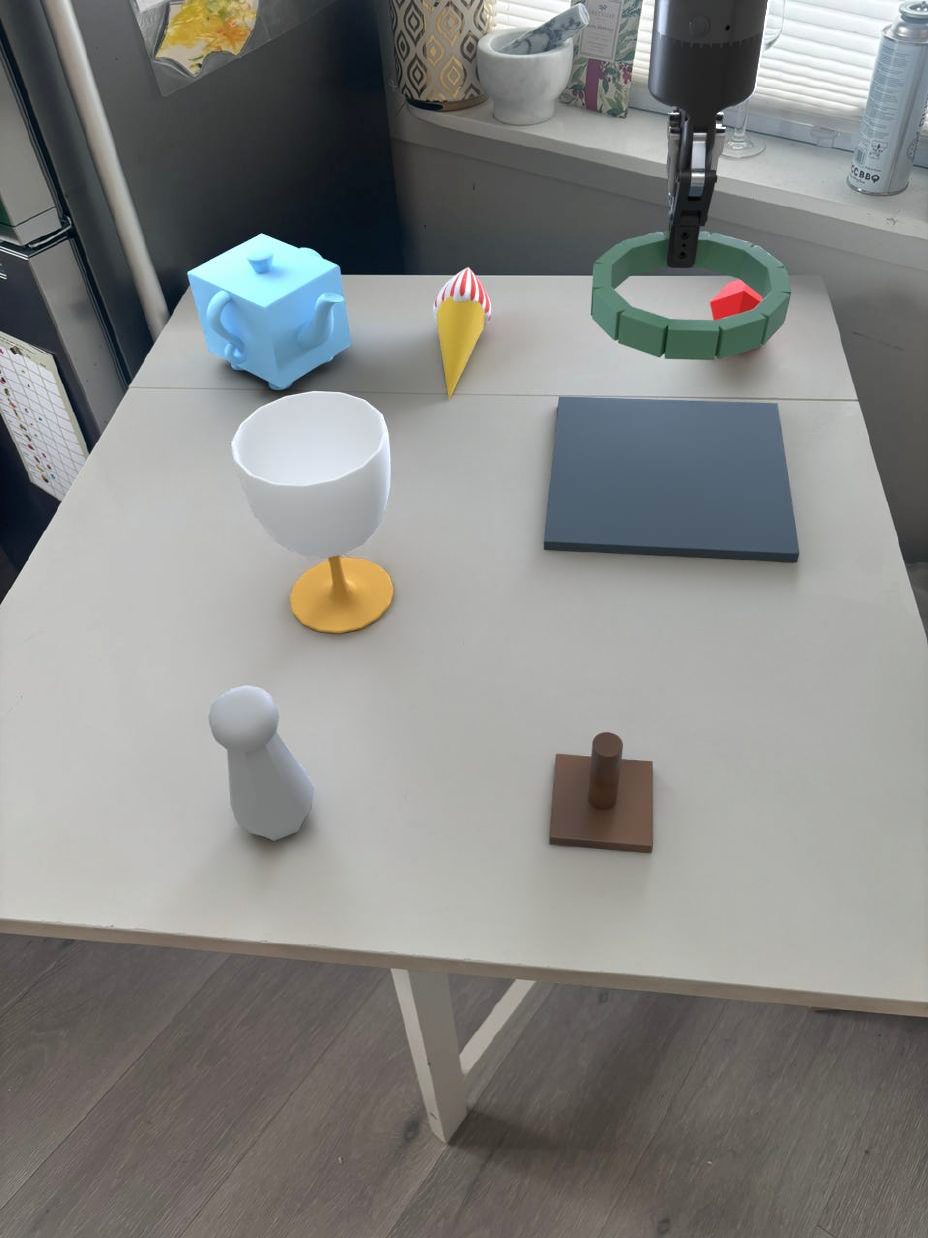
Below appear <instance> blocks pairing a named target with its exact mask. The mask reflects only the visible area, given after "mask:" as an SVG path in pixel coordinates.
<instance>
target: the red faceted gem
mask: <svg viewBox="0 0 928 1238" xmlns="http://www.w3.org/2000/svg"><path fill="white" fill-rule="evenodd" d="M761 301H762V297H761V296H760V295H759V294H757V293H756V292H755V291H754V290H752V289H751V288H750V287H749V286H747V285H746V284H745V283H744V282H742V281H741V280H740V279H739V278H738V279H737V280H733V281H730V282H728V283H727V284H726V285H724V287H723V288H721V290H720V291H719V292H718V293H717V294H716V295H715V296H714V297H713V298H712V299H711V300H710V301H709V305H710V310H711V313H712V320H719V319H722V318H726V317H729V316H733V315H736V314H739V313H743V312H746V311H750V310H753V309H754V308H755V307H756V306H757V305H758V304H759V303H760V302H761Z"/></svg>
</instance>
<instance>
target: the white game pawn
mask: <svg viewBox="0 0 928 1238" xmlns="http://www.w3.org/2000/svg"><path fill="white" fill-rule="evenodd" d="M279 721H280V714H279V709H278V707H277V705H276V702H275V700H274V698H273V697H272V695H271V694H270V693H268V691H266V690H265V689H263V688H262V687H259V686H253V685H241V686H235V687H234V686H233V687H232V688H229V689H228V690H226V691H225V692H223V693H221V694H220V695H218V697H217V698H216V699H215V700H214V701H213V703H212V704H211V705H210V709H209V714H208V724H209V727H210V731H211V733H212V736H213V738H214V740H215V742H216V743H218V744H219V745H221V746H222V747H223V748H224V749H225V750H226V753H227V771H228V785H229V789H228V790H229V803H230V807H231V812H232V814H233V818H234V820H235V821H236V822H237V823H238V825H240V826H241V827H242V828H244V829H245V830H246V831H247V832H248V833H249V834H253V835H257V836H261V837H264V838H267V839H269V840H271V841H273V842H276V841H278V840H281V839H283V838H285V837H288V836H290V835H293V834H296V833H298V832H299V831H300V829H301V826H302V824H303V822H304V820H305V819H306V817H307V816H308V814H309V813H310V812H311V810H312V807H313V801H314V794H315V787H314V785H313V783H312V781H311V778H310V776H309V774H308V772H307V771H306V770H305V768H304V767H303V766H302V764H301V763H300V762H299V761H298V759H297V757H296V756H295V755H294V754H293V752H292V750H291V749H290V748H289V747H288V745H287V744H286V742H285V741H284V739H282V737H281V735H280V734H279V733H278V731H277V730H278V727H279Z"/></svg>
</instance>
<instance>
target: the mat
mask: <svg viewBox="0 0 928 1238" xmlns="http://www.w3.org/2000/svg"><path fill="white" fill-rule="evenodd" d="M779 409H780V408H779V404H778V402H776V403H775V402H749V401H719V400H718V401H717V400H716V401H715V400H683V399H659V398H658V399H657V398H656V399H654V398H621V397H590V396H563V395H562V396H558V401H557V412H556V420H555V421H556V422H555V429H554V430H555V431H554V432H555V433H554V441H553V451H552V459H551V469H550V478H549V488H548V498H547V505H546V506H547V507H546V517H545V525H544V536H543V550H547V551H570V552H587V553H588V552H589V553H591V552H592V553H608V554H630V555H647V556H648V555H650V556H668V557H669V556H670V557H690V558H708V559H709V558H710V559H727V560H729V559H730V560H748V561H768V562H769V561H771V562H786V563H787V562H788V563H798V560H799V557H800V549H799V543H798V542H799V541H798V535H797V528H796V521H795V513H794V507H793V499H792V493H791V486H790V480H789V474H788V473H789V472H788V466H787V459H786V458H787V457H786V451H785V445H784V444H785V443H784V438H783V429H782V424H781V417H780V410H779Z"/></svg>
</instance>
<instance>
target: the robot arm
mask: <svg viewBox="0 0 928 1238" xmlns="http://www.w3.org/2000/svg"><path fill="white" fill-rule="evenodd" d="M770 1H771V0H654V7H653V18H652V31H651V42H650V53H649V54H650V55H649V66H648V77H647V89H648V93H649V94H650V95H651V96H652V98H653V99H654V100H656V101H657V102H659V103H661V104H663V105H665V106H667V107H671V108H673V107H674V109H673V111H672V112H671V113H669V112H668V118H667V127H666V137H667V158H666V176H667V181H666V185H667V193H668V194H667V201H668V202H669V203H668V206H670V209H669V211H668V226H667V227H668V228H667V231H670V233H669V242H668V251H667V265H668V266H669V267H668V268H671V269H690V268H691V267H692V266H694V264H695V259H696V252H697V244H698V237H699V232H700V229H701V227H705V226H706V222H708V220H709V219H708V218H709V210H710V206H711V203H712V198H713V194H714V191H715V187H716V184H717V183H718V174H717V171H718V165H719V158H720V157H721V155H723V153H724V147H725V140H726V127H723V125H724V113H723V112H722V111H724V110H725V109H728V108H730V107H732V108H734V107H737V106H740V105H742V104H743V103H745V102H746V101H748V100H749V99H750V98H751V97H752V96H753V95H754V92H755V91H756V88H757V82H758V75H759V70H760V63H761V59H762V58H761V57H762V51H763V45H764V38H765V32H766V25H767V22H768V21H767V20H768V14H769V8H770Z"/></svg>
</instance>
